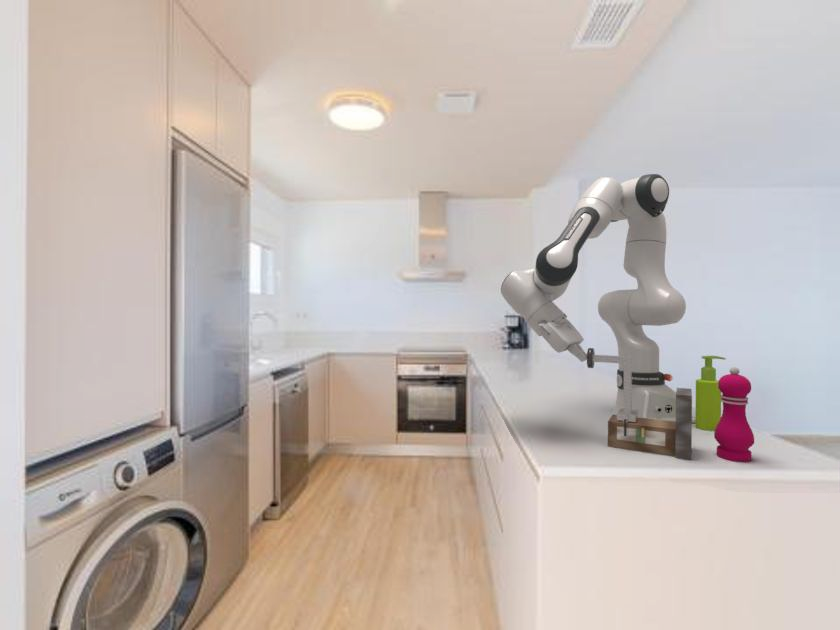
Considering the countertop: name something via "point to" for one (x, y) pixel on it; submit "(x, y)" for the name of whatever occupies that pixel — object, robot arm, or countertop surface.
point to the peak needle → (642, 432)
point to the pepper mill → (734, 418)
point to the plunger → (626, 412)
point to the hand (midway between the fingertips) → (585, 359)
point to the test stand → (657, 431)
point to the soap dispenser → (708, 397)
